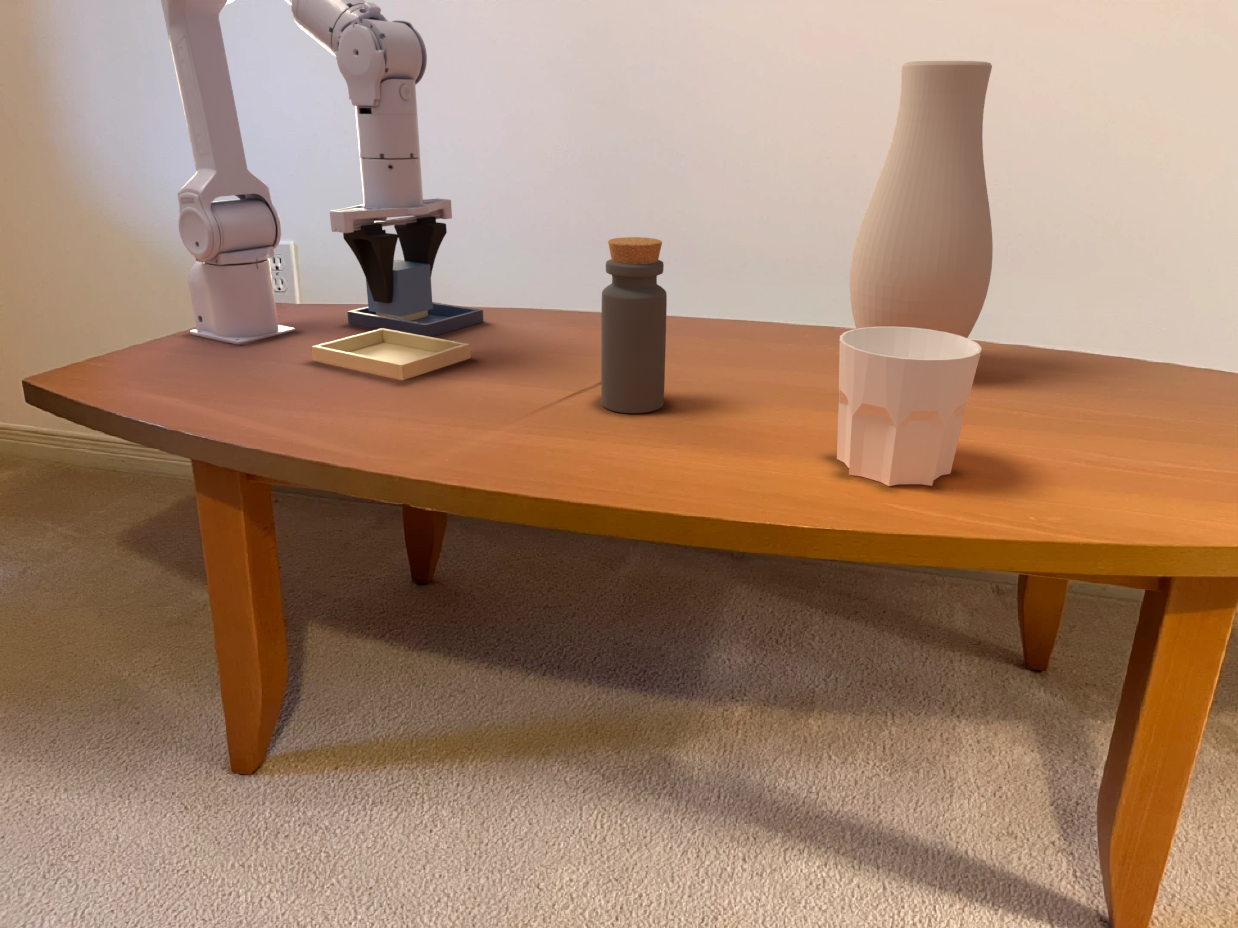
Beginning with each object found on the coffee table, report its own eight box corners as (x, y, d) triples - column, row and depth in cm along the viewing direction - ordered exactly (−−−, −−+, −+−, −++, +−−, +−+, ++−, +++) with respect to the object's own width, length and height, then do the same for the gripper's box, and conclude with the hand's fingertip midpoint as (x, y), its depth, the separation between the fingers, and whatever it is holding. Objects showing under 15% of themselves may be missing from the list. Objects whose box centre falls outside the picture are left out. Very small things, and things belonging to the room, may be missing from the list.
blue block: (368, 310, 92) (364, 265, 90) (400, 303, 95) (397, 259, 94) (400, 316, 90) (397, 270, 88) (433, 308, 93) (430, 264, 91)
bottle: (671, 398, 86) (676, 237, 80) (653, 417, 80) (657, 246, 75) (613, 392, 87) (614, 234, 82) (592, 409, 82) (591, 242, 77)
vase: (995, 387, 90) (1052, 59, 79) (859, 386, 90) (897, 58, 79) (946, 352, 103) (989, 66, 92) (827, 351, 103) (855, 64, 91)
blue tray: (348, 326, 112) (347, 311, 111) (407, 311, 120) (406, 297, 119) (427, 341, 105) (426, 325, 104) (483, 324, 113) (483, 309, 112)
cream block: (376, 318, 114) (372, 282, 112) (402, 312, 118) (399, 276, 116) (402, 323, 112) (399, 286, 110) (428, 316, 115) (425, 280, 114)
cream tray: (313, 363, 96) (311, 346, 95) (383, 343, 104) (382, 327, 103) (403, 383, 89) (401, 365, 89) (471, 361, 97) (470, 343, 97)
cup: (848, 492, 65) (863, 360, 61) (813, 444, 74) (824, 326, 71) (982, 491, 66) (1005, 359, 62) (931, 443, 75) (948, 326, 71)
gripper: (362, 163, 79) (376, 315, 84) (471, 156, 91) (477, 290, 96) (308, 159, 83) (324, 305, 88) (419, 153, 94) (428, 283, 99)
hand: (401, 297), depth 92 cm, fingers closed on blue block, 4 cm apart
